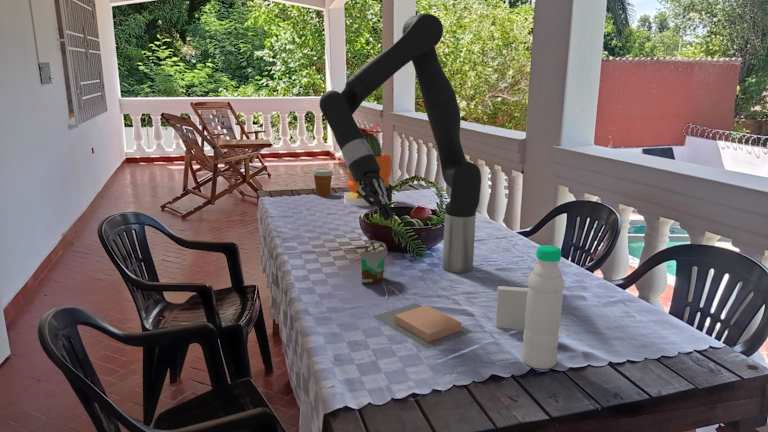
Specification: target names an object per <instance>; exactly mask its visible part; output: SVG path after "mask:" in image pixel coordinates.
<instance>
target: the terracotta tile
mask: <svg viewBox="0 0 768 432" xmlns="http://www.w3.org/2000/svg"><path fill="white" fill-rule="evenodd" d="M421 306H422V307H419V308H416V309H413V310H410V311H406V312H403V313H400V314H397V315H395V323H396V324H397V325H399V326H401V327H403V328H404V329H406V330H408V331H410V332H411V333H413V334H415V335H417V336H419V337H420V338H422V339H424V340H426V341H427V342H431V341H433V340H436V339H439V338H441V337H444V336H447V335H450V334H452V333H455V332H458V331H461V326H462V322H461V321H460V320H458V319H455V318H453V317H451V316H449V315H448V314H445V313H444V312H442V311H440V310H437V309H435V308H433V307H431V306H430V305H427V304H426V305H421Z"/></svg>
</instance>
